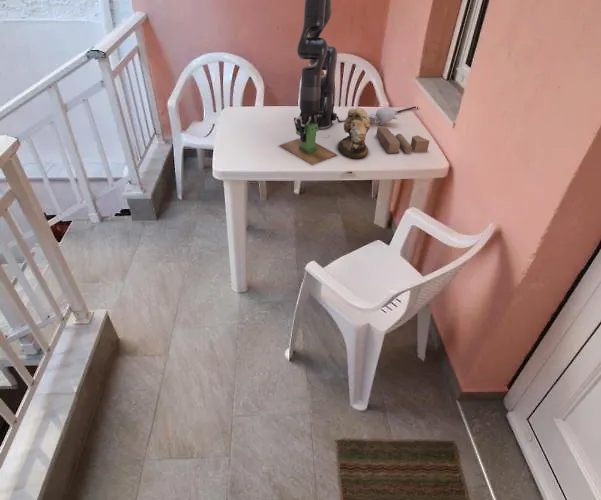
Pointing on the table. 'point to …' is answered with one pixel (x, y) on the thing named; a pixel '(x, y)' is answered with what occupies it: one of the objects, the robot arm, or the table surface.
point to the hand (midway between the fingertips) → (308, 139)
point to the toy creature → (383, 116)
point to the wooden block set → (400, 142)
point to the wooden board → (312, 157)
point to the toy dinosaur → (309, 139)
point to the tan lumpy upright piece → (355, 134)
